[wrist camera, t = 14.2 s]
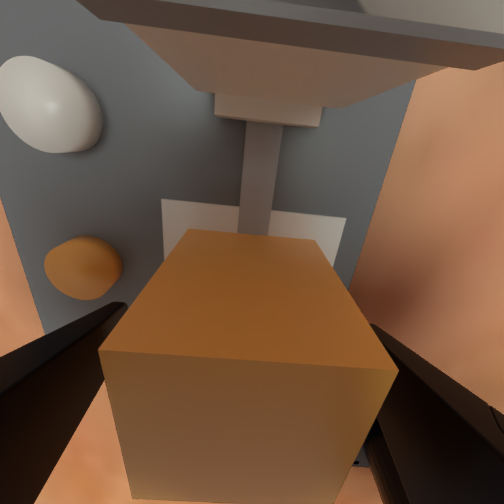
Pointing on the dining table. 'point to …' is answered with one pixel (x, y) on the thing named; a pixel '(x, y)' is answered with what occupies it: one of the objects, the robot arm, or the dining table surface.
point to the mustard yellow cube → (243, 374)
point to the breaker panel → (159, 162)
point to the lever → (308, 48)
